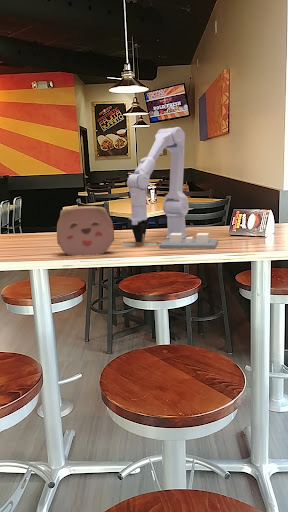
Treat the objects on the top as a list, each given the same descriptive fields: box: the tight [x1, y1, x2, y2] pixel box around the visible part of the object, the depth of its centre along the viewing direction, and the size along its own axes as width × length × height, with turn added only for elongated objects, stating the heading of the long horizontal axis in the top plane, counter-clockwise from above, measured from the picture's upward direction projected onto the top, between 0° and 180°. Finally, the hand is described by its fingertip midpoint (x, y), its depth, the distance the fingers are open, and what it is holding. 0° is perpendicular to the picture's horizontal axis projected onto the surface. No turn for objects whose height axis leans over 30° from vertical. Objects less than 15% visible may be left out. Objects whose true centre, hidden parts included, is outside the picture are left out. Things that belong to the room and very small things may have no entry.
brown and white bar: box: [121, 234, 159, 247], centre depth 169 cm, size 3×14×4 cm, turn 76°
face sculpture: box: [56, 205, 115, 257], centre depth 155 cm, size 20×7×17 cm, turn 94°
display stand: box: [158, 232, 219, 249], centre depth 165 cm, size 14×20×4 cm
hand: (140, 241), depth 169 cm, fingers open, 4 cm apart
